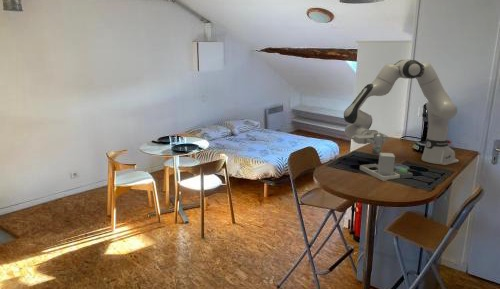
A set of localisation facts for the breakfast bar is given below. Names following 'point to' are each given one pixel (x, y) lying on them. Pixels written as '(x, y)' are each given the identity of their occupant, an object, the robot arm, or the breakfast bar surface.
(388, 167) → the supplement box
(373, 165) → the white open frame
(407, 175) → the button housing
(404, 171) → the button
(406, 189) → the breakfast bar surface
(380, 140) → the cylinder
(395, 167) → the tray
